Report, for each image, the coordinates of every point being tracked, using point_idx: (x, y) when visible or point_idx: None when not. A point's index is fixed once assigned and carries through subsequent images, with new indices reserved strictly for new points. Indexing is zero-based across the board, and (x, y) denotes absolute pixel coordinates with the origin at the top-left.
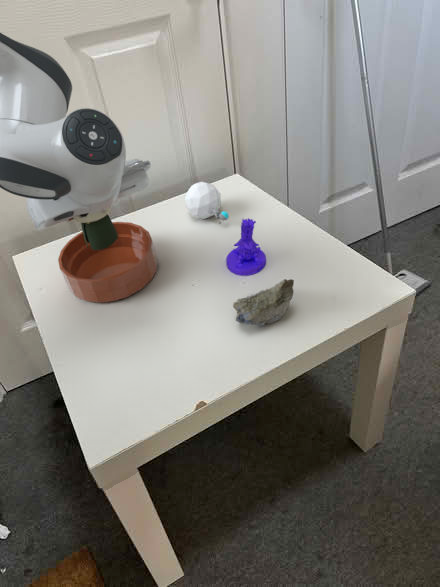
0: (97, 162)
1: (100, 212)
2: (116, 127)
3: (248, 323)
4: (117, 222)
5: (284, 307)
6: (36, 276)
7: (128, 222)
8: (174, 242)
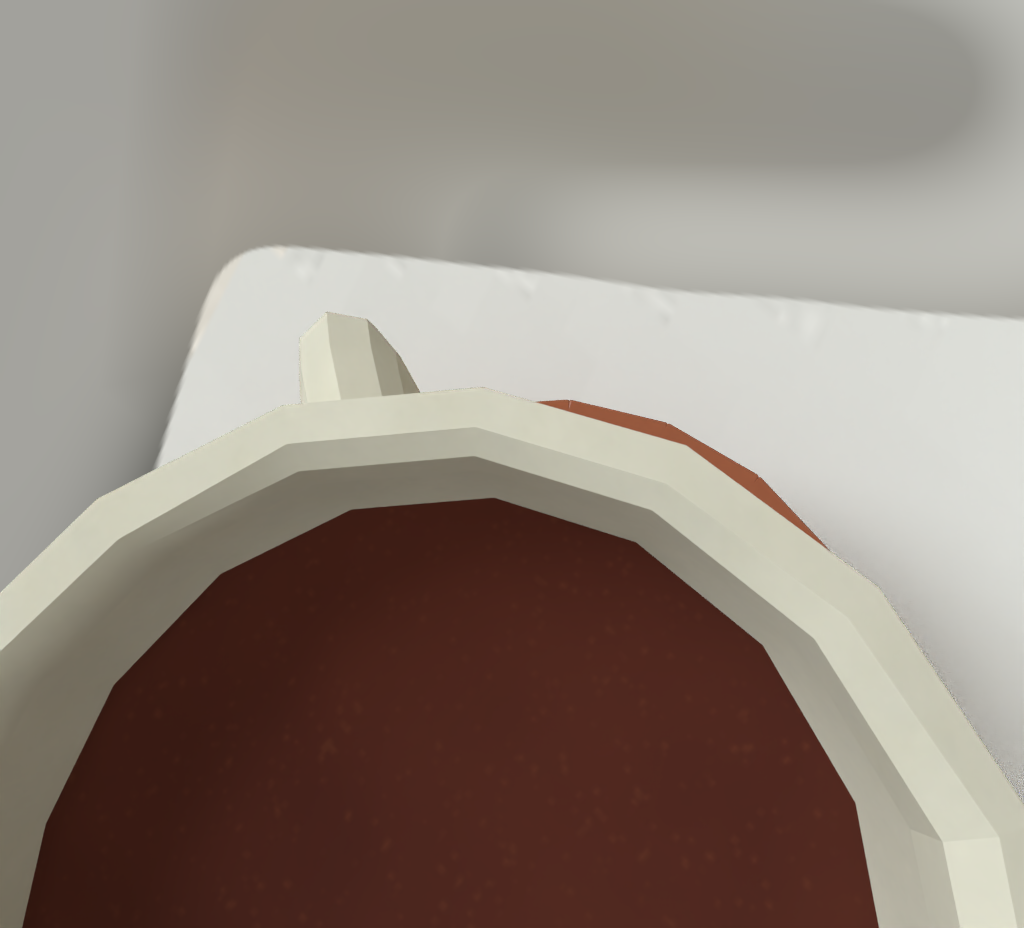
0: None
1: None
2: None
3: None
4: (753, 483)
5: None
6: (218, 427)
7: (824, 546)
8: (997, 740)
